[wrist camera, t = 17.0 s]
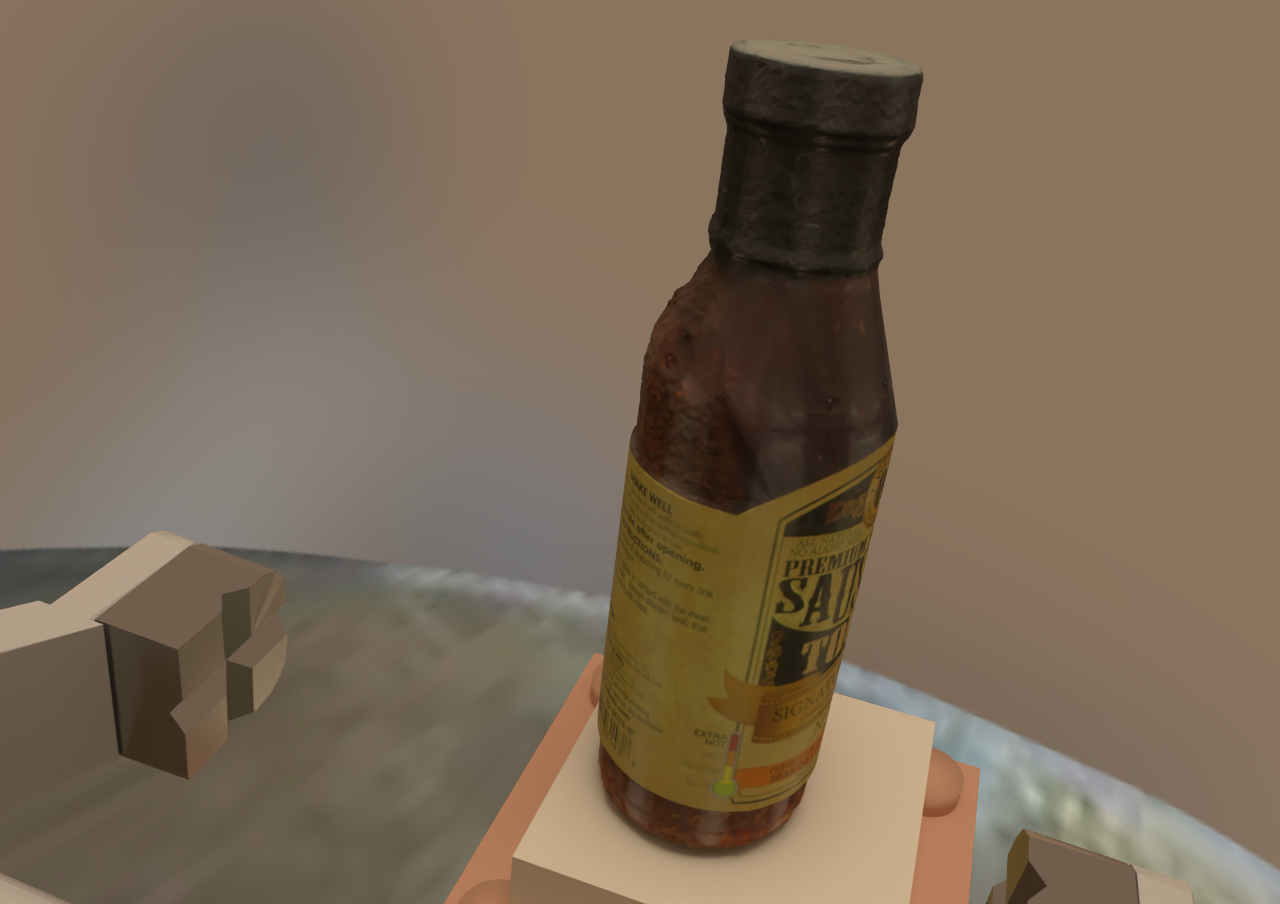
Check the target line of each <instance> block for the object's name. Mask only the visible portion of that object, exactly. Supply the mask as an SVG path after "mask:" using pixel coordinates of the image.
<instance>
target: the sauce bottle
mask: <svg viewBox="0 0 1280 904" xmlns="http://www.w3.org/2000/svg"><path fill="white" fill-rule="evenodd" d="M922 82H923V71H922V69H921V67H920V66H918V65H916V64H914V63H912V62H910V61H908V60H905V59H902V58H899V57H896V56H893V55H890V54H886V53H881V52H877V51H873V50H869V49H862V48H856V47H848V46H841V45H833V44H822V43H811V42H801V41H788V40H774V39H757V40H756V39H755V40H754V39H753V40H741V41H738V42H735V43H733V44H732V46H731V47H730V51H729V58H728V64H727V71H726V74H725V88H724V95H723V111H724V117H725V119H726V123H727V134H726V138H725V145H724V151H723V158H722V166H721V175H720V181H719V188H718V197H717V203H716V209H715V213H714V214H713V215H712V218H711V220H710V223H709V227H708V233H709V243H710V247H711V251H710V252H709V254H708V256H707V257H706V258H705V259H704V260H703V261H702V263H701V264H700V265H699V266H698V269H697V271H696V272H695V273H694V275H693V277H692V279H691V280H690V282H688V283H687V284H686V285H684V286H682V287H680V288H678V289H677V290H676V291H675V292H674V295H673V297H672V299H671V300H669V301H668V304H667V307H666V308H665V310H664V311H663V313H662V314H661V316H660V317H659V319H658V321H657V322H656V324H655V326H654V329H653V331H652V334H651V338H650V342H649V344H648V348H647V351H646V354H645V356H644V365H643V373H642V383H641V391H640V404H639V412H638V416H637V417H638V419H637V425H636V426H635V428H634V430H633V432H632V435H631V438H630V446H629V453H628V461H627V469H626V477H625V485H624V493H623V502H622V510H621V518H620V526H619V535H618V543H617V552H616V560H615V568H614V578H613V586H612V594H611V601H610V609H609V618H608V626H607V635H606V643H605V652H604V660H603V669H602V677H601V687H600V696H599V706H598V722H597V725H598V732H599V736H600V746H599V758H598V763H599V766H600V769H601V775H602V779H603V782H604V787H605V789H606V792H607V794H608V795H609V797H610V799H611V801H612V802H613V803H614V804H615V805H616V806H617V807H618V808H619V810H620V812H621V813H622V814H623V815H624V817H625V818H626V819H628V820H629V821H631V822H633V823H634V824H636V825H637V826H639V827H640V828H642V829H643V830H644V831H645V832H646V833H649V834H653V835H655V836H657V837H660V838H662V839H664V840H666V841H668V842H670V843H675V844H679V845H681V846H684V847H688V848H692V849H697V850H716V849H719V850H725V849H731V848H735V847H742V846H745V845H748V844H750V843H753V842H755V841H757V840H759V839H761V838H763V837H766V836H767V835H768V834H770V833H772V832H774V831H775V830H777V829H778V828H779V827H780V826H781V825H782V824H784V823H786V822H787V821H788V820H789V818H790V816H791V814H792V812H793V810H794V809H795V808H796V807H797V806H798V805H799V803H800V801H801V800H802V797H803V794H804V791H805V787H806V784H807V780H808V779H809V777H810V776H811V774H812V772H813V770H814V768H815V766H816V763H817V759H818V755H819V751H820V747H821V742H822V738H823V734H824V730H825V726H826V722H827V718H828V714H829V710H830V705H831V701H832V697H833V693H834V689H835V685H836V681H837V677H838V673H839V669H840V664H841V660H842V656H843V652H844V648H845V643H846V639H847V635H848V631H849V627H850V623H851V619H852V614H853V610H854V606H855V602H856V598H857V594H858V590H859V586H860V583H861V579H862V575H863V571H864V567H865V562H866V557H867V553H868V548H869V544H870V539H871V535H872V531H873V528H874V523H875V519H876V515H877V510H878V506H879V502H880V498H881V494H882V490H883V486H884V482H885V478H886V474H887V470H888V466H889V462H890V458H891V453H892V449H893V444H894V440H895V435H896V431H897V427H898V422H897V414H896V407H895V400H894V393H893V387H892V379H891V372H890V365H889V358H888V350H887V343H886V336H885V329H884V322H883V315H882V308H881V301H880V292H879V281H878V266H879V263H880V261H881V260H882V258H883V250H882V246H881V240H882V234H883V229H884V227H885V219H886V215H887V210H888V202H889V198H890V194H891V190H892V186H893V181H894V177H895V173H896V169H897V165H898V157H899V155H900V150H901V147H902V145H903V144H904V142H905V141H906V140H907V139H908V138H909V137H910V135H911V133H912V132H913V130H914V128H915V124H916V116H917V110H918V100H919V96H920V90H921V86H922Z"/></svg>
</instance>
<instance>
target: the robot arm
mask: <svg viewBox="0 0 1280 904" xmlns="http://www.w3.org/2000/svg"><path fill="white" fill-rule="evenodd" d="M285 603H286V586H285V578H284V577H283V576H282V575H280V574H279V573H278V572H277V571H275V570H272V569H269V568H267V567H264V566H261V565H259V564H256V563H253V562H251V561H248V560H245V559H243V558H240V557H237V556H235V555H232V554H229V553H227V552H224V551H221V550H219V549H216V548H213V547H211V546H208V545H205V544H199V543H196V542H194V541H192V540H189V539H186V538H184V537H181V536H178V535H176V534H173V533H171V532H168V531H166V530H165V531H159V532H153V533H150V534H148V535H147V536H146V537H144V538H143V539H141V540H140V541H139V542H137V543H136V544H135V545H133V546H132V547H130V548H129V549H128V550H126V551H125V552H123V553H122V554H121V555H119V556H118V557H116V558H115V559H114V560H112V561H111V562H109V563H108V564H107V565H105V566H104V567H102V568H101V569H100V570H98V571H97V572H95V573H94V574H93V575H91V576H90V577H89V578H87V579H86V580H84V581H83V582H82V583H80V584H79V585H77V586H76V587H75V588H73V589H72V590H70V591H69V592H68V593H66V594H65V595H63V596H62V597H61V598H59V599H58V600H56V601H55V602H54V603H52V604H51V605H49V604H46V603H44V602H41V601H36V602H31V603H27V604H23V605H19V606H15V607H11V608H7V609H2V610H0V813H1V812H3V811H6V810H8V809H10V808H12V807H14V806H17V805H19V804H21V803H23V802H26V801H28V800H30V799H32V798H34V797H37V796H39V795H41V794H43V793H46V792H48V791H50V790H52V789H54V788H57V787H59V786H61V785H63V784H66V783H68V782H70V781H72V780H75V779H77V778H79V777H81V776H83V775H86V774H88V773H90V772H92V771H95V770H97V769H99V768H101V767H103V766H106V765H108V764H110V763H112V762H115V761H117V760H119V755H121V756H124V757H127V758H129V759H132V760H135V761H138V762H140V763H143V764H146V765H149V766H151V767H154V768H157V769H160V770H163V771H165V772H168V773H171V774H174V775H176V776H179V777H182V778H185V779H187V780H189V779H190V778H191V777H192V776H193V775H194V774H195V773H196V772H197V771H198V770H199V769H200V768H201V767H202V766H203V764H204V763H205V762H206V761H207V760H208V759H209V758H210V757H211V756H212V755H213V754H214V753H215V752H216V751H217V750H218V749H219V748H220V747H221V746H222V745H223V744H224V743H225V742H226V741H227V740H228V731H229V721H230V720H232V719H235V718H238V717H241V716H244V715H247V714H250V713H252V712H254V711H255V710H256V709H257V708H258V707H259V706H260V705H261V704H262V703H263V701H264V700H265V699H266V698H267V697H268V696H269V695H270V693H271V691H272V690H273V688H274V686H275V684H276V682H277V680H278V678H279V676H280V674H281V673H282V670H283V666H284V662H285V657H286V653H287V633H286V631H285V629H284V628H283V626H282V625H281V623H280V621H279V620H278V618H277V616H276V615H275V613H276V612H277V611H278V610H279V609H280V608H281V607H282V606H283V605H284V604H285ZM0 904H71V903H68V902H66V901H64V900H61V899H59V898H57V897H54V896H52V895H50V894H47V893H45V892H43V891H41V890H38V889H36V888H34V887H31V886H29V885H27V884H24V883H22V882H20V881H17V880H15V879H13V878H11V877H8V876H6V875H4V874H1V873H0ZM986 904H1194V899H1193V892H1192V891H1191V889H1190V888H1189V886H1188V884H1187V883H1186V882H1184V881H1181V880H1178V879H1175V878H1172V877H1169V876H1166V875H1163V874H1160V873H1157V872H1154V871H1151V870H1148V869H1145V868H1142V867H1139V866H1136V865H1133V864H1130V865H1128V864H1126V863H1125V862H1122V861H1119V860H1116V859H1113V858H1110V857H1107V856H1104V855H1101V854H1098V853H1095V852H1092V851H1089V850H1086V849H1083V848H1080V847H1077V846H1074V845H1071V844H1068V843H1065V842H1062V841H1059V840H1056V839H1053V838H1050V837H1047V836H1044V835H1041V834H1039V833H1036V832H1033V831H1030V830H1027V829H1023V830H1022V831H1021V832H1020V834H1019V835H1018V836H1017V837H1016V839H1015V841H1014V843H1013V845H1012V847H1011V849H1010V852H1009V854H1008V861H1007V880H1006V881H1004V882H1002V883H999V884H997V885H994V886H993V888H992V890H991V893H990V895H989V897H988V900H987V902H986Z"/></svg>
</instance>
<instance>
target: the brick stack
mask: <svg viewBox="0 0 1280 904" xmlns="http://www.w3.org/2000/svg"><path fill="white" fill-rule="evenodd" d="M603 660H604V656H603V655H600V654H597V653H594V655H593V657H592V658H591V660H590V662H589V663H588V665H587V667H586V668H585V670H584V672H583V673H582V675H581V677H580V678H579V680H578V682H577V683H576V685H575V687H574V688H573V690H572V692H571V693H570V695H569V697H568V698H567V700H566V702H565V703H564V705H563V707H562V708H561V710H560V712H559V713H558V715H557V717H556V718H555V720H554V722H553V723H552V725H551V727H550V728H549V730H548V732H547V733H546V735H545V737H544V738H543V740H542V742H541V743H540V745H539V747H538V748H537V750H536V752H535V753H534V755H533V757H532V758H531V760H530V762H529V763H528V765H527V767H526V768H525V770H524V772H523V773H522V775H521V777H520V778H519V780H518V782H517V783H516V785H515V787H514V788H513V790H512V792H511V793H510V795H509V797H508V798H507V800H506V802H505V803H504V805H503V807H502V808H501V810H500V812H499V813H498V815H497V817H496V818H495V820H494V822H493V823H492V825H491V827H490V828H489V830H488V832H487V833H486V835H485V837H484V838H483V840H482V842H481V843H480V845H479V847H478V848H477V850H476V852H475V853H474V855H473V857H472V858H471V860H470V862H469V863H468V865H467V867H466V868H465V870H464V872H463V873H462V875H461V877H460V878H459V880H458V882H457V883H456V885H455V887H454V888H453V890H452V892H451V893H450V895H449V897H448V898H447V900H446V901H445V903H444V904H969V892H970V881H971V869H972V857H973V845H974V834H975V822H976V810H977V798H978V787H979V775H980V768H977V767H974V766H971V765H967V764H964V763H961V762H957V761H954V760H953V759H952V758H951V757H950V756H948V755H947V754H945V753H944V752H942V751H940V750H938V749H935V748H933V747H932V743H933V736H934V729H935V722H932V721H929V720H925V719H922V718H918V717H915V716H912V715H908V714H905V713H901V712H898V711H894V710H891V709H888V708H884V707H881V706H877V705H874V704H870V703H867V702H864V701H860V700H857V699H853V698H850V697H847V696H843V695H840V694H836V693H833V697H832V701H831V705H830V710H829V714H828V718H827V722H826V726H825V730H824V734H823V738H822V742H821V747H820V751H819V755H818V759H817V763H816V766H815V768H814V770H813V772H812V774H811V776H810V777H809V779H808V780H807V784H806V787H805V791H804V794H803V797H802V800H801V801H800V803H799V805H798V806H797V807H796V808H795V809H794V810H793V812H792V814H791V816H790V818H789V820H788V821H787V822H786V823H784V824H782V825H781V826H780V827H779V828H778V829H777V830H775V831H774V832H772V833H770V834H768V835H767V836H766V837H763V838H761V839H759V840H757V841H755V842H753V843H750V844H748V845H745V846H742V847H735V848H731V849H725V850H719V849H716V850H697V849H692V848H688V847H684V846H681V845H679V844H675V843H670V842H668V841H666V840H664V839H662V838H660V837H657V836H655V835H653V834H649V833H646V832H645V831H644V830H643V829H642V828H640V827H639V826H637V825H636V824H634V823H633V822H631V821H629V820H628V819H626V818H625V817H624V815H623V814H622V813H621V812H620V810H619V808H618V807H617V806H616V805H615V804H614V803H613V802H612V801H611V799H610V797H609V795H608V794H607V792H606V789H605V787H604V782H603V779H602V775H601V769H600V766H599V763H598V758H599V746H600V736H599V732H598V725H597V722H598V706H599V696H600V687H601V677H602V669H603Z"/></svg>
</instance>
